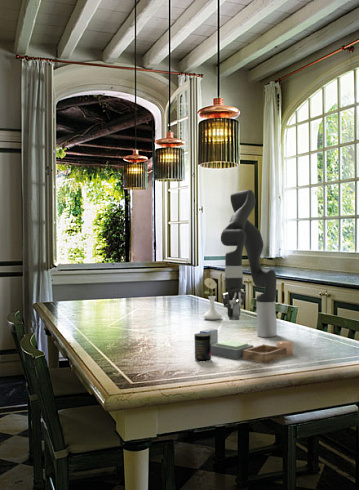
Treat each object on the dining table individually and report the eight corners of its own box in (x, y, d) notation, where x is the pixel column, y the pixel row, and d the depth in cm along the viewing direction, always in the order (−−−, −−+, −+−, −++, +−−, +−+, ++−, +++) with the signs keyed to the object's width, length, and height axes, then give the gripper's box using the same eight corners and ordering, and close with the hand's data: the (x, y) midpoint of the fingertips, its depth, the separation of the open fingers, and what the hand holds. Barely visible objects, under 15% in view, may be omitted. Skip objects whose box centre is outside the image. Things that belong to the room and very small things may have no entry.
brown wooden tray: (242, 358, 207) (242, 350, 207) (263, 352, 218) (263, 344, 218) (265, 363, 199) (265, 354, 199) (286, 356, 210) (286, 348, 210)
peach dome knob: (282, 351, 218) (281, 340, 218) (296, 354, 213) (296, 342, 213) (272, 354, 213) (272, 342, 213) (287, 357, 208) (286, 345, 208)
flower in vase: (225, 319, 305) (225, 278, 305) (210, 321, 299) (210, 279, 298) (212, 316, 316) (211, 276, 316) (197, 318, 310) (196, 278, 309)
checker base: (227, 349, 225) (227, 341, 224) (253, 354, 214) (253, 345, 214) (210, 354, 217) (210, 345, 217) (236, 359, 207) (236, 350, 207)
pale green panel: (227, 342, 222) (227, 340, 222) (248, 346, 214) (247, 343, 214) (215, 345, 217) (215, 343, 217) (236, 349, 209) (236, 346, 209)
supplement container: (210, 362, 203) (209, 336, 203) (193, 361, 204) (193, 336, 204) (212, 358, 210) (211, 333, 210) (196, 357, 211) (195, 332, 211)
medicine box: (210, 347, 231) (209, 328, 230) (218, 348, 228) (217, 329, 228) (199, 350, 225) (199, 330, 224) (207, 351, 222) (207, 331, 222)
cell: (233, 318, 218) (233, 302, 218) (241, 319, 215) (241, 302, 215) (226, 319, 215) (226, 302, 215) (235, 320, 212) (235, 303, 212)
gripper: (237, 275, 223) (237, 314, 223) (216, 276, 213) (216, 317, 213) (250, 275, 218) (251, 315, 218) (230, 277, 208) (230, 319, 208)
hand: (234, 316), depth 215 cm, fingers closed on cell, 4 cm apart
